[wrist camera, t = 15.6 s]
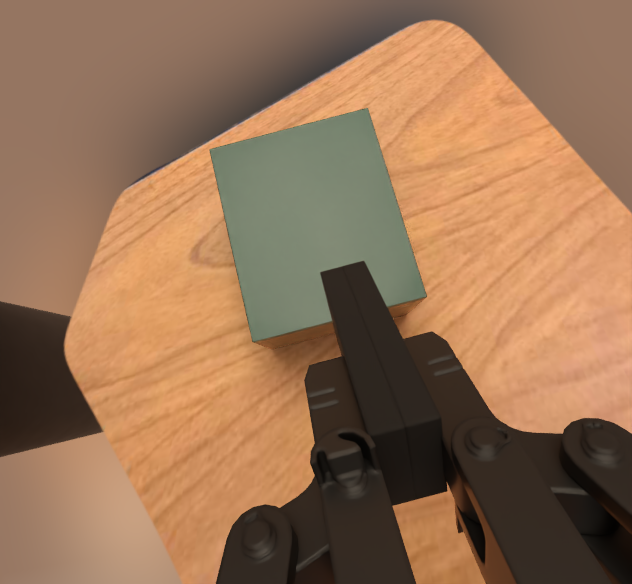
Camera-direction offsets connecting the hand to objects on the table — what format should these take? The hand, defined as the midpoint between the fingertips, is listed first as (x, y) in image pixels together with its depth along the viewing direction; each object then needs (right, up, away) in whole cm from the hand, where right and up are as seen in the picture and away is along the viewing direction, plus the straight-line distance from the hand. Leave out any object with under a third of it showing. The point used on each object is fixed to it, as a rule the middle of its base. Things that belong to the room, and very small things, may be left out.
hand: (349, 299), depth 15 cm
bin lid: (-1, +6, +20) cm, 21 cm away
